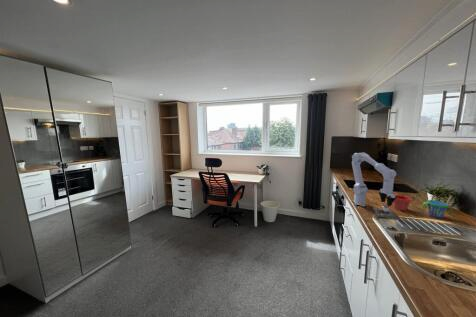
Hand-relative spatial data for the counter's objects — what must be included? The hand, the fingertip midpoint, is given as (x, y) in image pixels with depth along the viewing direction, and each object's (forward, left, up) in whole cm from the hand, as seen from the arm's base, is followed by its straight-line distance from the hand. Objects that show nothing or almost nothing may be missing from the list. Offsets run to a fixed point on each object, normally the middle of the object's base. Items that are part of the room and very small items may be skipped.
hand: (386, 203), depth 136 cm
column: (0, 0, -8) cm, 8 cm away
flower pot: (-15, +16, -9) cm, 24 cm away
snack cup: (-7, +34, -9) cm, 36 cm away
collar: (0, 0, -8) cm, 8 cm away
